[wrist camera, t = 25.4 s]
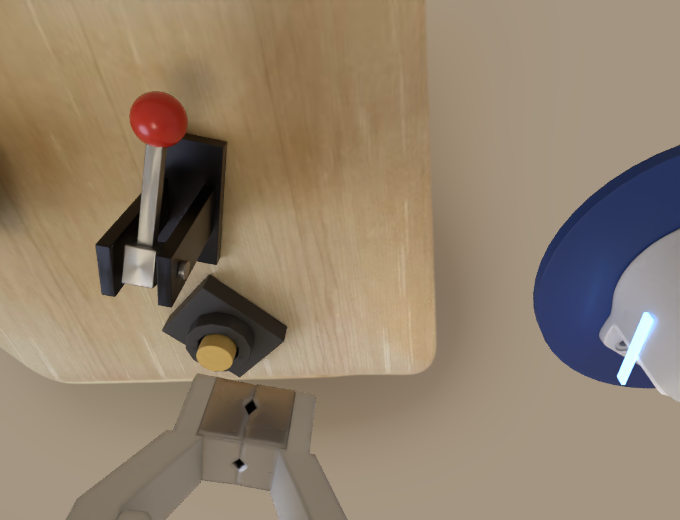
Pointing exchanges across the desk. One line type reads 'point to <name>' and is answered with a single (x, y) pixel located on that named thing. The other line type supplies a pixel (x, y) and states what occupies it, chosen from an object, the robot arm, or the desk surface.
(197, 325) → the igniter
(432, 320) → the desk surface
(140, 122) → the lever
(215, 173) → the gas tap
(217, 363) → the button
